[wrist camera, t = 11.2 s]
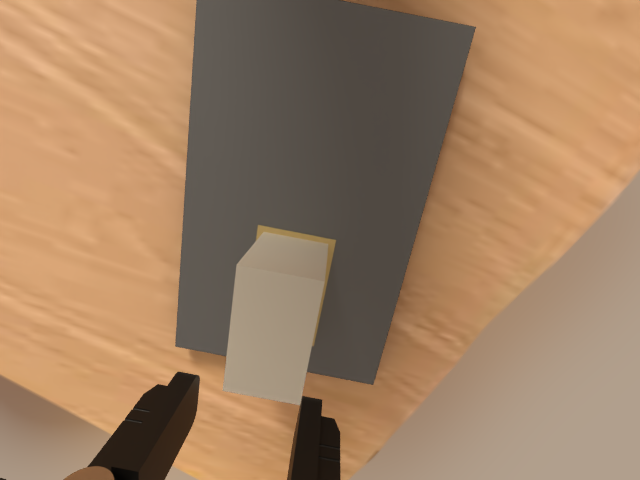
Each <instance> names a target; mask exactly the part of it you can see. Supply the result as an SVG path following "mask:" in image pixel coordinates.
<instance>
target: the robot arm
mask: <svg viewBox="0 0 640 480" xmlns="http://www.w3.org/2000/svg"><path fill="white" fill-rule="evenodd" d="M199 382H200V377H199V376H198V375H193V374H188V373H183V372H177V373H176V374H175V376H174V377H173V379H172V380H171V381H170V383H169V384H168V386H164V385H159V384H158V385H156V386H155V387H153V388H152V389H151V390H149V391H148V392H146V393H145V394H143V396H142V397H141V398H140V400H139V401H138V402H137V404H136V405H135V406H134V408H133V410H131V411H130V413H129V414H128V415H127V417H126V418H125V420H124V421H123V422H122V423H121V424H120V426H119V427H118V428H117V430H116V431H115V432H114V433H113V435H112V436H111V438H110V439H109V440H108V441H107V443H106V444H105V445H104V446H103V448H102V449H101V451H100V452H99V453H98V454H97V456H96V457H95V458H94V459H93V461H92V462H91V463H90V465H89V466H88V467H87V468H83V469H80V470H78V471H76V472H74V473H72V474H71V475H69V476H67V477H66V478H65V479H64V480H165V478H166V476H167V474H168V472H169V470H170V468H171V466H172V464H173V462H174V460H175V458H176V456H177V455H178V453H179V451H180V449H181V447H182V445H183V443H184V441H185V439H186V437H187V435H188V433H189V431H190V429H191V427H192V425H193V422H194V419H195V416H196V412H197V404H198V393H199ZM321 411H322V400H320V399H315V398H310V397H305V396H302V399H301V404H300V409H299V414H298V418H297V423H296V428H295V433H294V438H293V444H292V451H291V457H290V464H289V470H288V477H287V480H340V431H339V429H338V427H337V424H336V422H335V420H334V419H333V418H327V417H322V416H321ZM0 480H6V479H3V478H0Z"/></svg>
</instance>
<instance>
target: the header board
mask: <svg viewBox="0 0 640 480" xmlns="http://www.w3.org/2000/svg"><path fill="white" fill-rule="evenodd" d="M475 28H476V27H473V26H468V25H463V24H458V23H453V22H448V21H443V20H438V19H433V18H428V17H422V16H417V15H412V14H407V13H402V12H397V11H392V10H387V9H382V8H376V7H371V6H366V5H361V4H356V3H351V2H346V1H341V0H197V4H196V20H195V37H194V53H193V69H192V85H191V101H190V118H189V134H188V150H187V166H186V182H185V199H184V215H183V231H182V247H181V264H180V280H179V296H178V312H177V328H176V345H175V346H176V347H181V348H186V349H191V350H197V351H202V352H207V353H212V354H217V355H222V356H227V347H228V338H229V329H230V320H231V311H232V301H233V292H234V283H235V274H236V265H237V264H238V262H239V261H240V260H241V259H242V257H243V256H244V255H245V254H246V253H247V251H248V250H249V249H250V248H251V247H252V245H253V244H254V243H255V242H256V240H257V239H258V238H259V237H260V236H261V234H262V233H263V232H268V233H273V234H278V235H284V236H289V237H294V238H300V239H305V240H310V241H316V242H321V243H326V244H328V254H327V264H326V274H325V283H324V288H323V293H322V298H321V303H320V308H319V313H318V318H317V323H316V328H315V333H314V338H313V343H312V348H311V353H310V358H309V363H308V368H307V372H310V373H315V374H320V375H325V376H331V377H336V378H341V379H346V380H351V381H356V382H361V383H367V384H372V385H373V384H374V380H375V377H376V373H377V370H378V366H379V363H380V359H381V356H382V352H383V349H384V345H385V342H386V338H387V335H388V331H389V328H390V325H391V321H392V318H393V314H394V311H395V307H396V304H397V300H398V297H399V293H400V290H401V286H402V283H403V279H404V276H405V272H406V269H407V265H408V262H409V258H410V255H411V251H412V248H413V244H414V241H415V237H416V234H417V230H418V227H419V223H420V220H421V217H422V213H423V210H424V206H425V203H426V199H427V196H428V192H429V189H430V185H431V182H432V178H433V175H434V171H435V168H436V164H437V161H438V157H439V154H440V150H441V147H442V143H443V140H444V136H445V133H446V129H447V126H448V122H449V119H450V115H451V112H452V109H453V105H454V102H455V98H456V95H457V91H458V88H459V84H460V81H461V77H462V74H463V70H464V67H465V63H466V60H467V56H468V53H469V49H470V46H471V42H472V39H473V35H474V32H475Z"/></svg>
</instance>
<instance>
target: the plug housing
mask: <svg viewBox="0 0 640 480" xmlns="http://www.w3.org/2000/svg"><path fill="white" fill-rule="evenodd" d="M327 254H328V244H326V243H321V242H316V241H310V240H305V239H300V238H294V237H289V236H284V235H278V234H273V233H268V232H263V233H262V234H261V236H260V237H259V238H258V239H257V240H256V242H255V243H254V244H253V245H252V247H251V248H250V249H249V250H248V251H247V253H246V254H245V255H244V256H243V257H242V259H241V260H240V261H239V262H238V264H237V265H236V274H235V283H234V292H233V301H232V311H231V320H230V329H229V338H228V347H227V356H226V366H225V375H224V384H223V391H226V392H232V393H237V394H242V395H247V396H253V397H258V398H263V399H269V400H274V401H279V402H285V403H290V404H295V405H300V403H301V398H302V393H303V388H304V383H305V378H306V373H307V368H308V363H309V358H310V353H311V348H312V343H313V338H314V333H315V328H316V323H317V318H318V313H319V308H320V303H321V298H322V293H323V288H324V283H325V274H326V264H327Z"/></svg>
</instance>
